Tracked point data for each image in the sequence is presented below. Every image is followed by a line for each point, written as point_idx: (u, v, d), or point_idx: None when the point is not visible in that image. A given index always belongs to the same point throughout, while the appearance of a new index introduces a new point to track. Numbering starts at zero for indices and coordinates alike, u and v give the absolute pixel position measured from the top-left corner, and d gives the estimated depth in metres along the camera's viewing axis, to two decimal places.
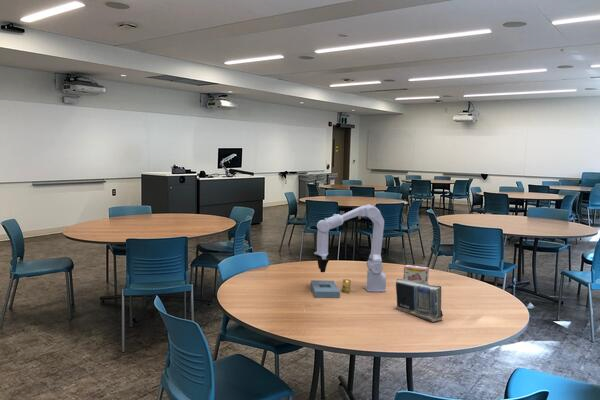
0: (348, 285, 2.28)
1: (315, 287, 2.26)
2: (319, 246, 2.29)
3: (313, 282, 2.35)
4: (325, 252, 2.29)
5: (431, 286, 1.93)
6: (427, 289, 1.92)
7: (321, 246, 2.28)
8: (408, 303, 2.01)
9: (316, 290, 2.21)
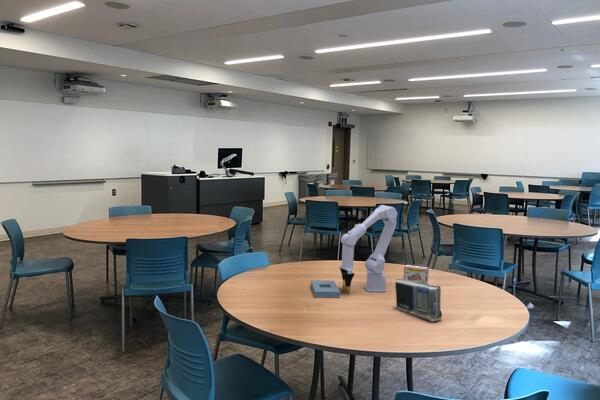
0: None
1: (315, 287, 2.26)
2: (344, 260, 2.27)
3: (313, 282, 2.35)
4: (350, 266, 2.27)
5: (430, 286, 1.93)
6: (426, 289, 1.92)
7: (346, 260, 2.26)
8: (407, 303, 2.01)
9: (316, 290, 2.21)
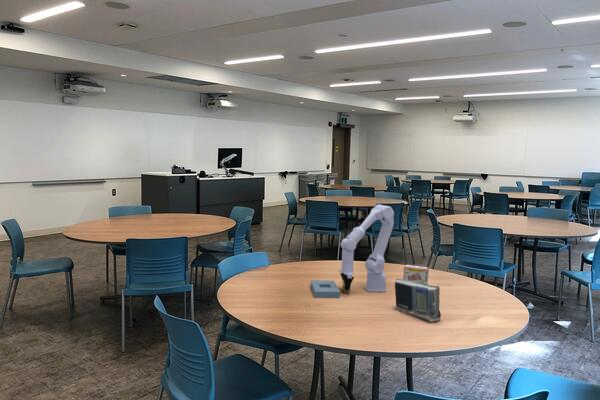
0: None
1: (315, 287, 2.26)
2: (344, 264, 2.27)
3: (313, 282, 2.35)
4: (350, 271, 2.27)
5: (429, 286, 1.93)
6: (425, 289, 1.92)
7: (346, 264, 2.26)
8: (406, 303, 2.01)
9: (316, 290, 2.21)
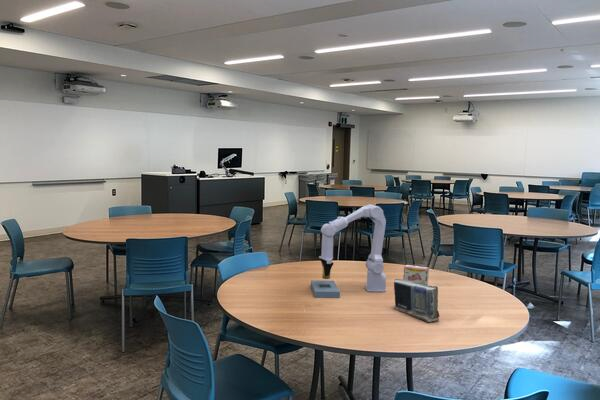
0: None
1: (315, 287, 2.26)
2: (324, 250, 2.25)
3: (313, 282, 2.35)
4: (330, 256, 2.25)
5: (428, 286, 1.93)
6: (423, 289, 1.91)
7: (326, 250, 2.25)
8: (405, 303, 2.01)
9: (316, 290, 2.21)
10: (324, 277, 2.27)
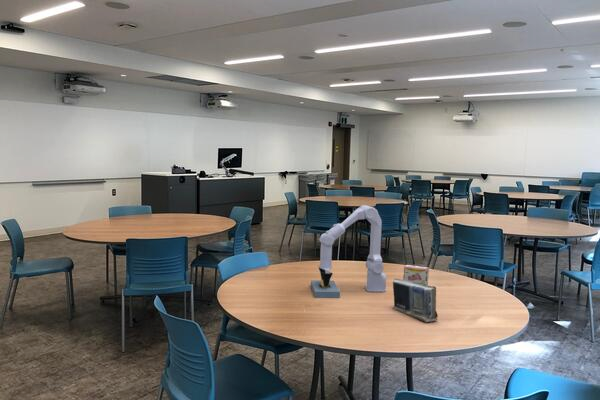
0: None
1: (315, 287, 2.26)
2: (322, 260, 2.26)
3: (313, 282, 2.35)
4: (328, 266, 2.26)
5: (426, 286, 1.92)
6: (421, 289, 1.91)
7: (324, 260, 2.25)
8: (404, 303, 2.01)
9: (316, 290, 2.21)
10: None
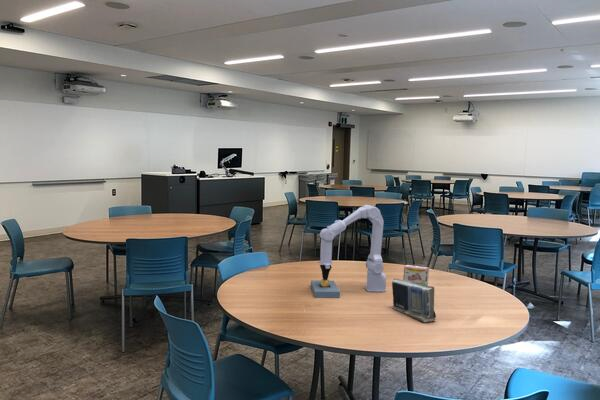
0: (326, 285, 2.27)
1: (315, 287, 2.26)
2: (323, 255, 2.26)
3: (313, 282, 2.35)
4: (329, 261, 2.26)
5: (424, 286, 1.92)
6: (419, 289, 1.91)
7: (325, 255, 2.25)
8: (402, 302, 2.01)
9: (316, 290, 2.21)
10: None
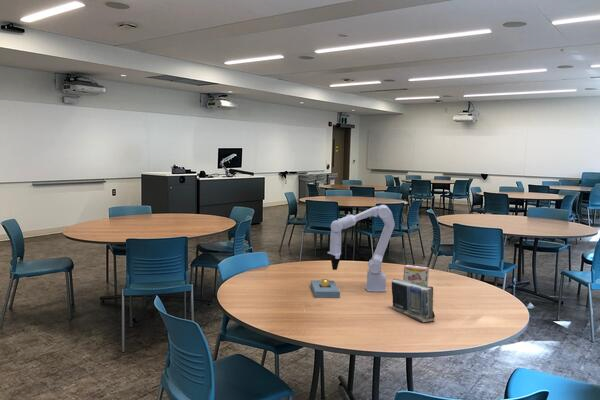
0: (326, 285, 2.27)
1: (315, 287, 2.26)
2: (332, 246, 2.34)
3: (313, 282, 2.35)
4: (338, 252, 2.34)
5: (423, 286, 1.92)
6: (418, 289, 1.91)
7: (334, 246, 2.33)
8: (402, 302, 2.01)
9: (316, 290, 2.21)
10: None
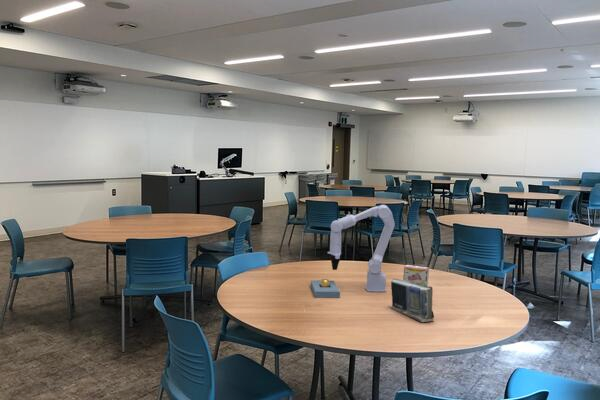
0: (326, 285, 2.28)
1: (315, 287, 2.26)
2: (332, 246, 2.34)
3: (313, 282, 2.35)
4: (338, 252, 2.34)
5: (422, 286, 1.92)
6: (417, 289, 1.91)
7: (334, 246, 2.33)
8: (401, 302, 2.01)
9: (316, 290, 2.21)
10: None
